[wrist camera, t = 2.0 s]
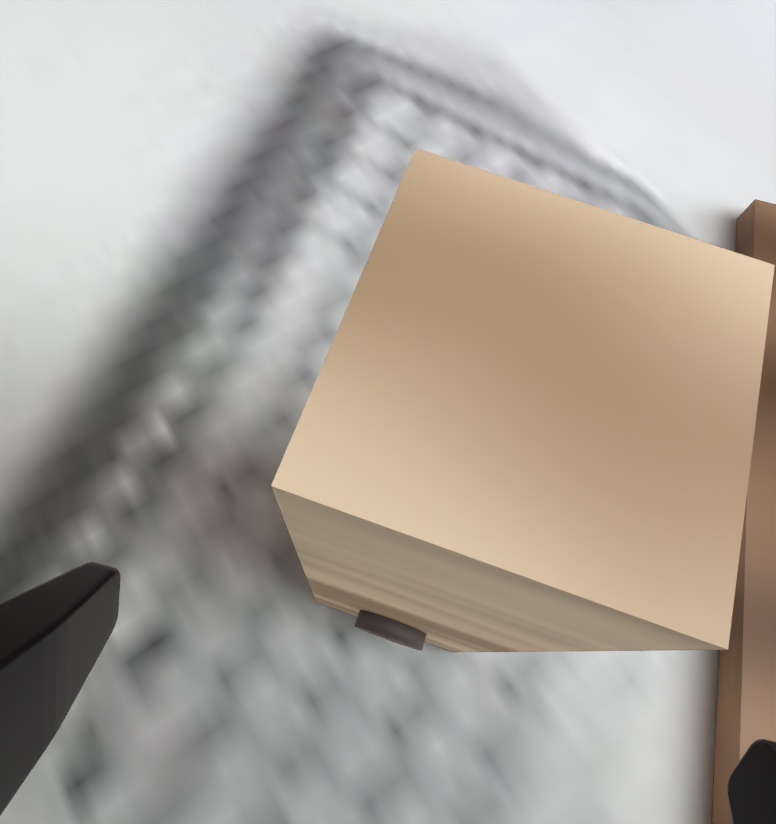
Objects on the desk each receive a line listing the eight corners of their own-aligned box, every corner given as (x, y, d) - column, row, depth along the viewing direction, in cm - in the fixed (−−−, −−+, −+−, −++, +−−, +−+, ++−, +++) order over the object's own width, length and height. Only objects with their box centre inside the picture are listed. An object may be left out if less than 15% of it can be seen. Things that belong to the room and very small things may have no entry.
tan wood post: (449, 666, 18) (722, 696, 5) (311, 614, 19) (254, 525, 6) (495, 503, 20) (777, 238, 7) (368, 459, 21) (425, 124, 8)
